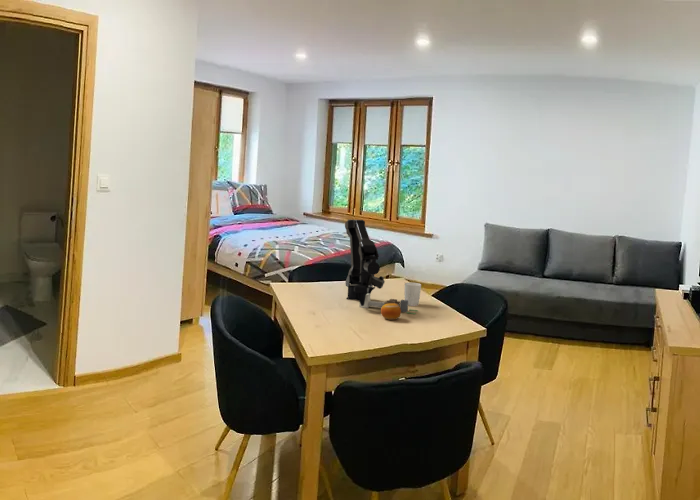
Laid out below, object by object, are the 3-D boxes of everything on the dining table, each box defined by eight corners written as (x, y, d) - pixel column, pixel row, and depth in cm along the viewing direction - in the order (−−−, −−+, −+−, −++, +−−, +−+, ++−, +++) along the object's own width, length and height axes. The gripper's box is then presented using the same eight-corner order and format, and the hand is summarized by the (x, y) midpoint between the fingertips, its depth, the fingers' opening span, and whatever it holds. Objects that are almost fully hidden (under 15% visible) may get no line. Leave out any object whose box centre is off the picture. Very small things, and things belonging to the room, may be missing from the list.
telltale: (399, 311, 281) (400, 300, 280) (401, 310, 284) (401, 299, 283) (406, 312, 280) (406, 301, 279) (407, 310, 283) (408, 300, 282)
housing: (383, 310, 281) (384, 301, 280) (387, 307, 287) (387, 298, 287) (415, 314, 277) (415, 304, 276) (418, 311, 283) (418, 301, 283)
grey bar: (359, 307, 286) (359, 294, 285) (361, 305, 289) (362, 292, 289) (397, 311, 281) (398, 298, 280) (399, 309, 284) (400, 296, 284)
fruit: (387, 307, 273) (389, 294, 267) (403, 316, 269) (405, 304, 264) (376, 318, 268) (378, 305, 262) (392, 328, 264) (394, 315, 259)
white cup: (419, 306, 292) (420, 286, 291) (402, 305, 294) (403, 284, 292) (420, 303, 300) (421, 283, 299) (404, 302, 301) (405, 281, 300)
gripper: (378, 275, 274) (376, 310, 276) (388, 269, 291) (386, 302, 293) (354, 273, 277) (352, 307, 279) (365, 267, 294) (363, 299, 297)
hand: (364, 304), depth 287 cm, fingers open, 7 cm apart
